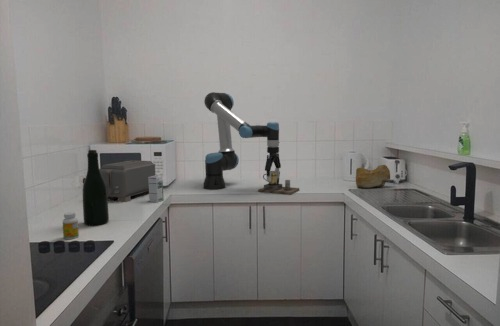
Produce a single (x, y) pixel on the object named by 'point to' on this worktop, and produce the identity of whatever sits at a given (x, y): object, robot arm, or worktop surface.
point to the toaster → (127, 178)
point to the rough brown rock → (372, 177)
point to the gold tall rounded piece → (273, 179)
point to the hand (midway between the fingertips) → (273, 179)
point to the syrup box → (155, 188)
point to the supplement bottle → (70, 226)
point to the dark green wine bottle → (94, 193)
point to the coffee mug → (277, 178)
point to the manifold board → (279, 189)
